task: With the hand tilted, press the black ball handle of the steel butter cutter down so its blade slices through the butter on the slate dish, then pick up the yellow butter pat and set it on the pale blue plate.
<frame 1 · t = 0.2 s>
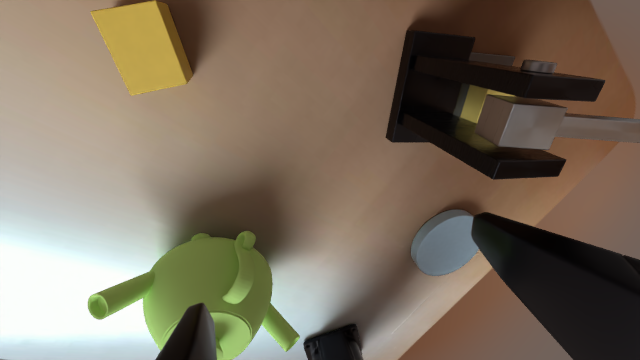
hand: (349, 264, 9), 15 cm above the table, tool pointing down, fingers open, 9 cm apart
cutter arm: (604, 128, 16), point 10 cm above the table, hinge at 12.0°
butter dish: (476, 92, 25), on the table
teapot: (209, 270, 26), on the table
plate: (443, 240, 32), on the table
cutter: (423, 89, 23), on the table
butter pat: (155, 46, 18), on the table
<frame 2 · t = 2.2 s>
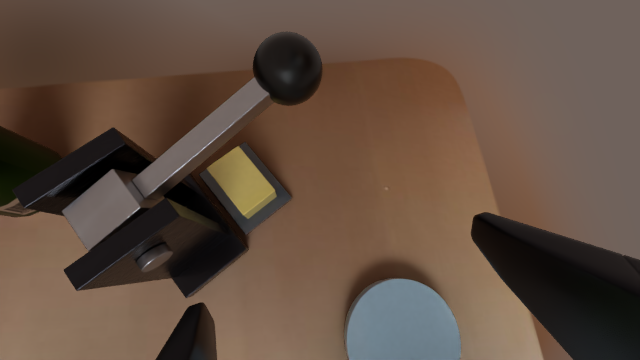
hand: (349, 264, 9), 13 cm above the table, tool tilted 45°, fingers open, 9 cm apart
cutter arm: (207, 138, 14), point 10 cm above the table, hinge at 12.0°
butter dish: (246, 187, 23), on the table
plate: (398, 335, 21), on the table
cutter: (189, 230, 22), on the table
beer can: (37, 183, 22), on the table
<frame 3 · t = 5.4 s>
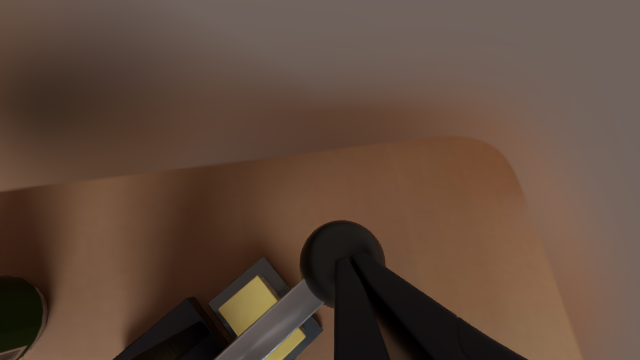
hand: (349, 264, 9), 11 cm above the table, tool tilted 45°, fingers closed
butter dish: (266, 315, 19), on the table
beer can: (7, 321, 18), on the table
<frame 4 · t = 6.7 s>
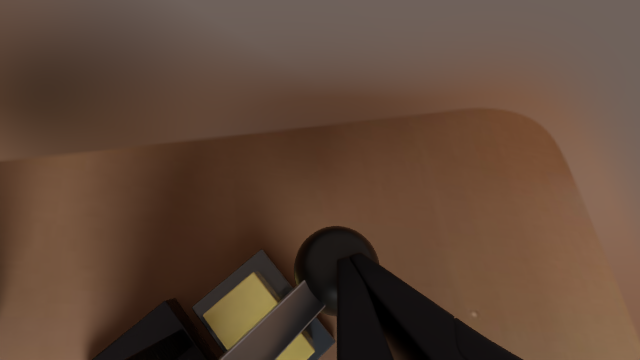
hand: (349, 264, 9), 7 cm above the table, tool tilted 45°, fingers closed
butter dish: (264, 322, 15), on the table
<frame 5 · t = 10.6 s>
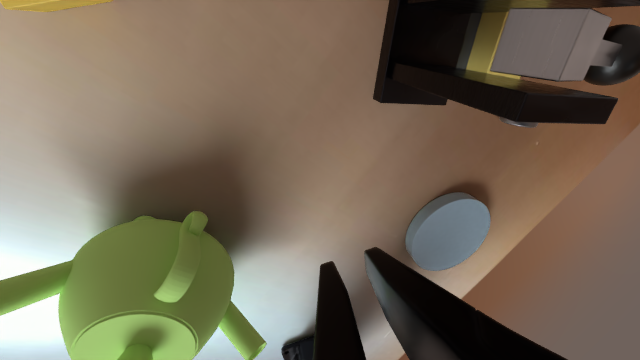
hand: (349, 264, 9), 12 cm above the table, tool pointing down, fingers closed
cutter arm: (586, 52, 14), point 7 cm above the table, hinge at -21.4°
butter dish: (484, 44, 20), on the table
teapot: (160, 263, 22), on the table
plate: (443, 229, 28), on the table
cutter: (418, 37, 19), on the table
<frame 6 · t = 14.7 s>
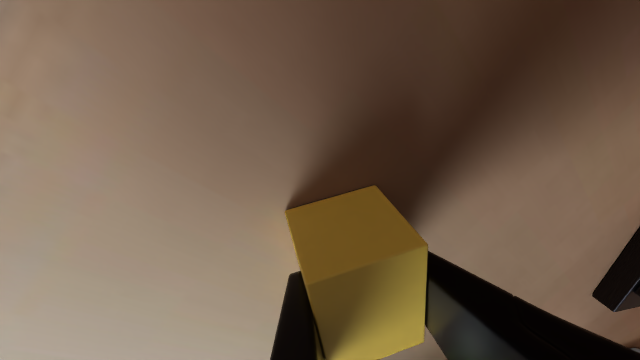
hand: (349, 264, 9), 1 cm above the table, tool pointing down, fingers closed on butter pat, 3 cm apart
butter pat: (338, 244, 10), on the table, touching gripper
when the fingers open (2 cm above the table, at t = 21.1 s): butter pat stays where it is, resting on plate.
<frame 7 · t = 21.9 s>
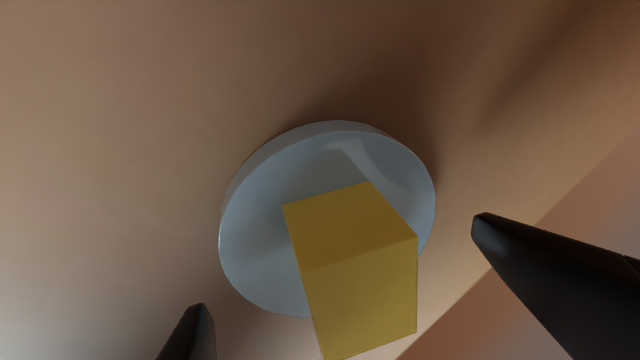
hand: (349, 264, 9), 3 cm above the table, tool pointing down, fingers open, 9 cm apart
plate: (326, 219, 12), on the table
butter pat: (334, 238, 11), point 1 cm above the table, touching plate
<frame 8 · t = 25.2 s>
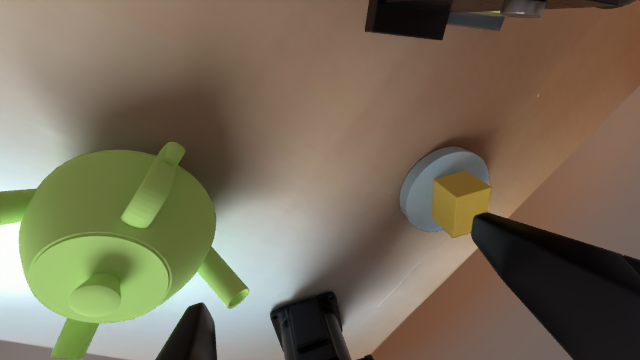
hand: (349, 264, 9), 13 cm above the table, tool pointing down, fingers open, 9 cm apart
teapot: (139, 210, 20), on the table
plate: (440, 188, 27), on the table
butter pat: (447, 194, 26), point 1 cm above the table, touching plate
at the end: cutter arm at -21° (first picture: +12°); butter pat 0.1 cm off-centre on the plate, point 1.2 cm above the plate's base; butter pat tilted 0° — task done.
